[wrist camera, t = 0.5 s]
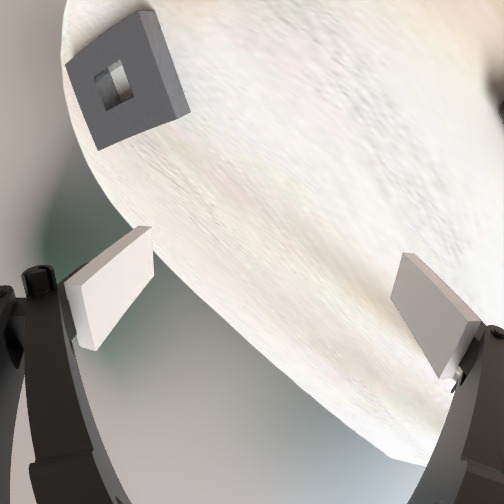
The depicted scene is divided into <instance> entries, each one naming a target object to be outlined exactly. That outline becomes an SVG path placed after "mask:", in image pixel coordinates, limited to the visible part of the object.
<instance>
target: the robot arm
mask: <svg viewBox="0 0 504 504" xmlns="http://www.w3.org/2000/svg"><path fill="white" fill-rule="evenodd" d="M153 276H154V268H153V246H152V227H147V226H138V227H136V228H135V229H133V230H132V231H131V232H129V233H128V234H126V235H125V236H124V237H122V238H121V239H120V240H118V241H117V242H116V243H114V244H113V245H112V246H110V247H109V248H108V249H106V250H105V251H104V252H102V253H101V254H100V255H98V256H97V257H96V258H95V259H93V260H92V261H91V262H88V263H86V264H84V265H81V266H80V267H78V268H77V269H76V270H75V271H74V272H72V273H71V274H70V275H69V276H67V277H66V278H64V279H63V280H62V281H61V282H59V283H58V284H57V283H56V279H55V273H54V269H53V267H51V266H49V265H37V266H34V267H31V268H29V269H27V270H25V271H24V272H23V273H22V275H21V277H22V281H23V285H24V289H25V293H26V298H16V297H15V293H14V290H13V288H12V287H11V286H5V285H4V286H0V504H10V467H11V454H12V444H13V434H14V427H15V420H16V414H17V408H18V403H19V398H20V392H21V388H22V383H23V379H24V375H25V385H26V397H27V408H28V416H29V422H30V430H31V436H32V442H33V447H34V452H35V458H36V460H35V463H30V465H29V475H30V480H31V484H32V488H33V491H34V495H35V499H36V502H37V504H132V503H131V502H130V500H129V499H128V497H127V495H126V493H125V491H124V490H123V488H122V485H121V483H120V481H119V479H118V477H117V475H116V473H115V471H114V468H113V466H112V464H111V462H110V459H109V457H108V455H107V452H106V450H105V448H104V445H103V443H102V440H101V438H100V435H99V432H98V429H97V427H96V424H95V421H94V418H93V415H92V412H91V409H90V406H89V403H88V400H87V397H86V393H85V390H84V387H83V383H82V380H81V376H80V372H79V368H78V364H77V360H76V356H75V352H74V348H73V344H72V341H71V340H72V339H73V338H74V337H75V335H76V334H77V338H78V341H79V344H80V347H83V348H87V349H90V350H94V351H97V349H98V348H99V346H100V345H101V344H102V342H103V341H104V340H105V338H106V337H107V336H108V334H109V333H110V332H111V330H112V329H113V327H114V326H115V325H116V324H117V322H118V321H119V319H120V318H121V317H122V316H123V314H124V313H125V311H126V310H127V309H128V308H129V306H130V305H131V303H133V301H134V300H135V299H136V297H137V296H138V295H139V294H140V292H141V291H142V290H143V289H144V287H145V286H146V285H147V284H148V282H149V281H150V280H151V278H152V277H153ZM390 299H391V300H392V302H393V303H394V305H395V307H396V308H397V310H398V311H399V313H400V314H401V316H402V318H403V319H404V321H405V322H406V324H407V326H408V327H409V329H410V330H411V332H412V334H413V335H414V337H415V339H416V340H417V342H418V344H419V345H420V347H421V349H422V350H423V352H424V354H425V356H426V357H427V359H428V361H429V363H430V364H431V366H432V368H433V370H434V371H435V373H436V375H437V377H438V379H444V378H452V377H453V376H454V374H455V372H456V370H457V369H458V367H459V366H460V367H461V369H462V371H463V372H462V374H461V376H460V377H459V379H458V381H457V382H456V384H455V386H454V387H453V389H452V390H451V393H453V392H454V390H455V393H454V397H453V400H452V403H451V406H450V409H449V412H448V415H447V418H446V421H445V424H444V426H443V429H442V432H441V434H440V437H439V439H438V442H437V444H436V447H435V449H434V451H433V454H432V456H431V458H430V461H429V463H428V465H427V467H426V469H425V471H424V473H423V475H422V477H421V479H420V482H419V483H418V486H417V487H416V489H415V491H414V493H413V495H412V497H411V498H410V500H409V502H408V503H407V504H504V330H503V329H502V328H500V327H497V326H494V325H488V326H486V325H485V324H484V323H483V322H482V321H481V319H480V318H479V317H478V316H477V315H476V314H475V313H474V312H473V311H472V310H471V309H470V308H469V307H468V305H467V304H466V303H465V302H464V301H463V300H462V299H461V298H460V297H459V296H458V295H457V294H456V293H455V292H454V291H453V290H452V289H451V288H450V287H449V286H448V285H447V284H446V283H445V282H444V281H443V280H442V279H441V278H440V277H439V276H438V275H437V274H436V273H435V272H434V271H433V270H431V269H430V268H429V267H428V266H427V265H426V264H425V263H424V262H423V261H422V260H421V259H420V258H419V257H418V256H416V255H415V254H412V253H404V252H403V254H402V258H401V262H400V265H399V269H398V273H397V276H396V280H395V283H394V287H393V290H392V293H391V296H390Z"/></svg>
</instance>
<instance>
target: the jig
mask: <svg viewBox="0 0 504 504" xmlns="http://www.w3.org/2000/svg"><path fill="white" fill-rule="evenodd" d="M121 65H123V68H124V71H125V73H126V76H127V79H128V82H129V84H130V87H131V90H132V92H133V95H134V97H132V98H131V99H129V100H127V101H125V102H123V103H121V102H120V99H119V96H118V94H117V91H116V88H115V86H114V83H113V80H112V78H111V75H110V72H111V71H113V70H114V69H116V68H118V67H119V66H121ZM65 66H66V69H67V72H68V75H69V78H70V81H71V84H72V86H73V89H74V92H75V95H76V97H77V100H78V103H79V105H80V108H81V111H82V113H83V116H84V118H85V121H86V123H87V126H88V128H89V131H90V133H91V135H92V138H93V140H94V142H95V145H96V147H97V149H98V151H99V150H101V149H104V148H106V147H108V146H110V145H112V144H115V143H117V142H119V141H122V140H124V139H126V138H129V137H131V136H134V135H136V134H138V133H141V132H143V131H146V130H149V129H151V128H154V127H156V126H159V125H162V124H165V123H167V122H170V121H173V120H176V119H178V118H180V117H182V116H184V115H186V114H188V113H190V109H189V106H188V104H187V101H186V98H185V95H184V92H183V90H182V87H181V84H180V81H179V79H178V76H177V73H176V70H175V67H174V64H173V62H172V59H171V56H170V53H169V50H168V48H167V45H166V42H165V39H164V36H163V33H162V30H161V28H160V25H159V22H158V19H157V16H156V13H155V11H137V12H135V13H134V14H132V15H130V16H129V17H127V18H126V19H124V20H123V21H121V22H120V23H118V24H117V25H115V26H114V27H112V28H111V29H110V30H108V31H107V32H105V33H104V34H103V35H101V36H100V37H98V38H97V39H96V40H95V41H93V42H92V43H91V44H89V45H88V46H87V47H86V48H84V49H83V50H82V51H81V52H79V53H78V54H77V55H76V56H75V57H73V58H72V59H71V60H70V61H69V62H68V63H66V64H65Z"/></svg>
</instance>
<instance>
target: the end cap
mask: <svg viewBox="0 0 504 504" xmlns="http://www.w3.org/2000/svg"><path fill="white" fill-rule="evenodd" d="M498 111H499V115H500V117H501V119H502V121H503V123H504V102H503V103H502V104H501V105H500V107H499V110H498Z"/></svg>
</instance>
